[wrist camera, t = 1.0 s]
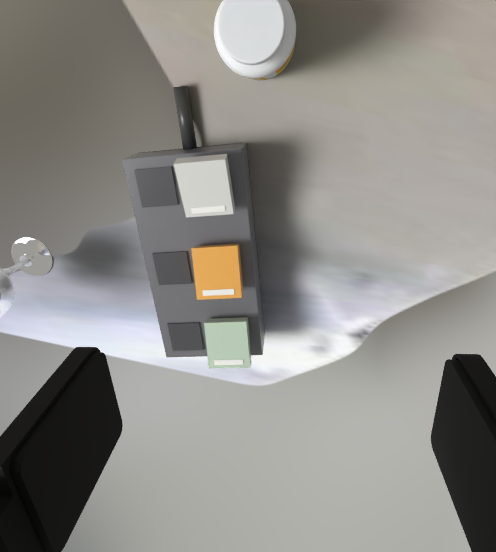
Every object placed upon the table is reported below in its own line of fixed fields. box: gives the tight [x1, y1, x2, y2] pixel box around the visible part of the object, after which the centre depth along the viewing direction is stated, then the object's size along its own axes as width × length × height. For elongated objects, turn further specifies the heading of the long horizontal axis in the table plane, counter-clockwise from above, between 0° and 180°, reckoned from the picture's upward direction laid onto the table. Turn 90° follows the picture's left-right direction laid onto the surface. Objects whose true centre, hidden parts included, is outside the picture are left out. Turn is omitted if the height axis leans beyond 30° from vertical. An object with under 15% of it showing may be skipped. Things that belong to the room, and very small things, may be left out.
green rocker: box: [204, 317, 251, 368], centre depth 38 cm, size 4×5×1 cm
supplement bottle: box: [214, 0, 296, 80], centre depth 27 cm, size 5×5×10 cm
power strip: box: [123, 86, 265, 357], centre depth 37 cm, size 10×25×4 cm, turn 6°
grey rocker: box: [174, 154, 235, 217], centre depth 32 cm, size 4×5×1 cm
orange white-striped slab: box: [191, 244, 243, 300], centre depth 35 cm, size 4×5×1 cm
